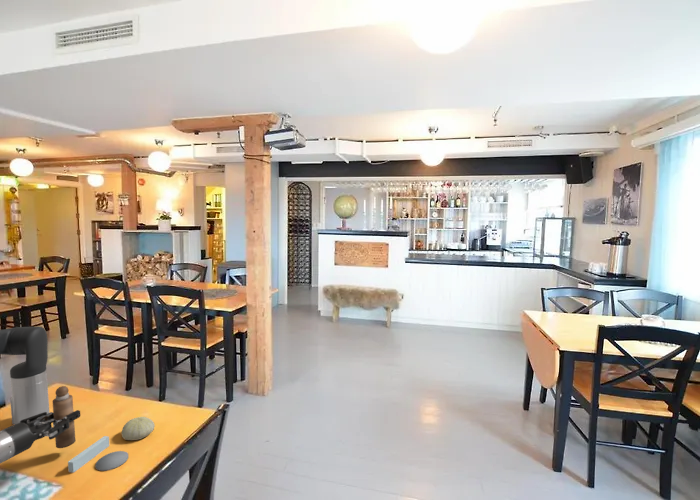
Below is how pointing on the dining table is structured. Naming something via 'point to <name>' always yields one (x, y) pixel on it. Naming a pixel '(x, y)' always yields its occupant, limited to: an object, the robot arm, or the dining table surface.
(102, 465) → the gray pad
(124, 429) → the sea urchin shell
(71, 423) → the pepper mill
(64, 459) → the dining table surface
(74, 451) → the dining table surface
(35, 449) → the dining table surface
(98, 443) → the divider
